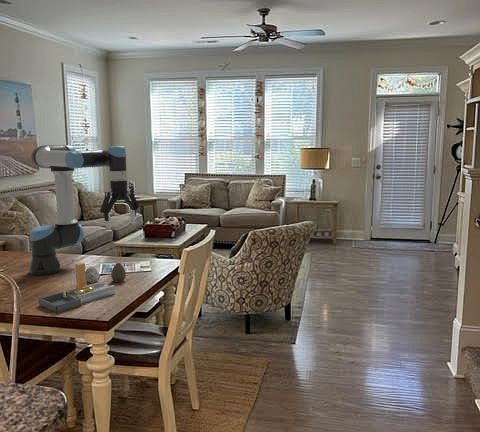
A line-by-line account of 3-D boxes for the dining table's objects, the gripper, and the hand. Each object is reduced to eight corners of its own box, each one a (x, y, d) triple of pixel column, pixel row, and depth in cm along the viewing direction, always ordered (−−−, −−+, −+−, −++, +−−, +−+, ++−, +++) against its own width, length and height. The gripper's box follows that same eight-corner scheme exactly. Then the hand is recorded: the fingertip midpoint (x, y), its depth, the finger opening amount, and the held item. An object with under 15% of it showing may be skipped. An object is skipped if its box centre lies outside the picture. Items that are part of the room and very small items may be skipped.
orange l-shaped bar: (75, 291, 214) (73, 263, 212) (81, 289, 216) (79, 261, 214) (82, 293, 210) (80, 265, 208) (88, 291, 213) (86, 264, 210)
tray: (39, 305, 196) (38, 298, 196) (63, 298, 204) (62, 291, 204) (56, 313, 187) (56, 306, 187) (81, 305, 195) (80, 298, 195)
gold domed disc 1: (73, 295, 202) (73, 290, 202) (82, 292, 205) (81, 288, 205) (79, 297, 200) (78, 292, 200) (87, 294, 203) (87, 290, 203)
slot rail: (66, 299, 203) (65, 291, 203) (102, 288, 217) (101, 281, 216) (78, 304, 197) (78, 296, 196) (115, 293, 210) (114, 285, 210)
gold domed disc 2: (83, 292, 206) (82, 288, 205) (91, 290, 209) (91, 285, 208) (88, 294, 203) (88, 289, 203) (96, 291, 206) (96, 287, 206)
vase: (113, 278, 232) (113, 261, 230) (127, 278, 232) (127, 261, 230) (109, 283, 225) (108, 265, 224) (124, 283, 225) (123, 265, 223)
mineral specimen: (103, 285, 223) (102, 271, 221) (88, 287, 220) (86, 273, 219) (99, 276, 237) (98, 263, 236) (84, 278, 234) (83, 265, 233)
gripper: (99, 182, 204) (102, 230, 208) (145, 178, 223) (147, 222, 227) (89, 181, 209) (92, 228, 213) (135, 177, 228) (137, 220, 231)
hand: (121, 225), depth 220 cm, fingers open, 13 cm apart
